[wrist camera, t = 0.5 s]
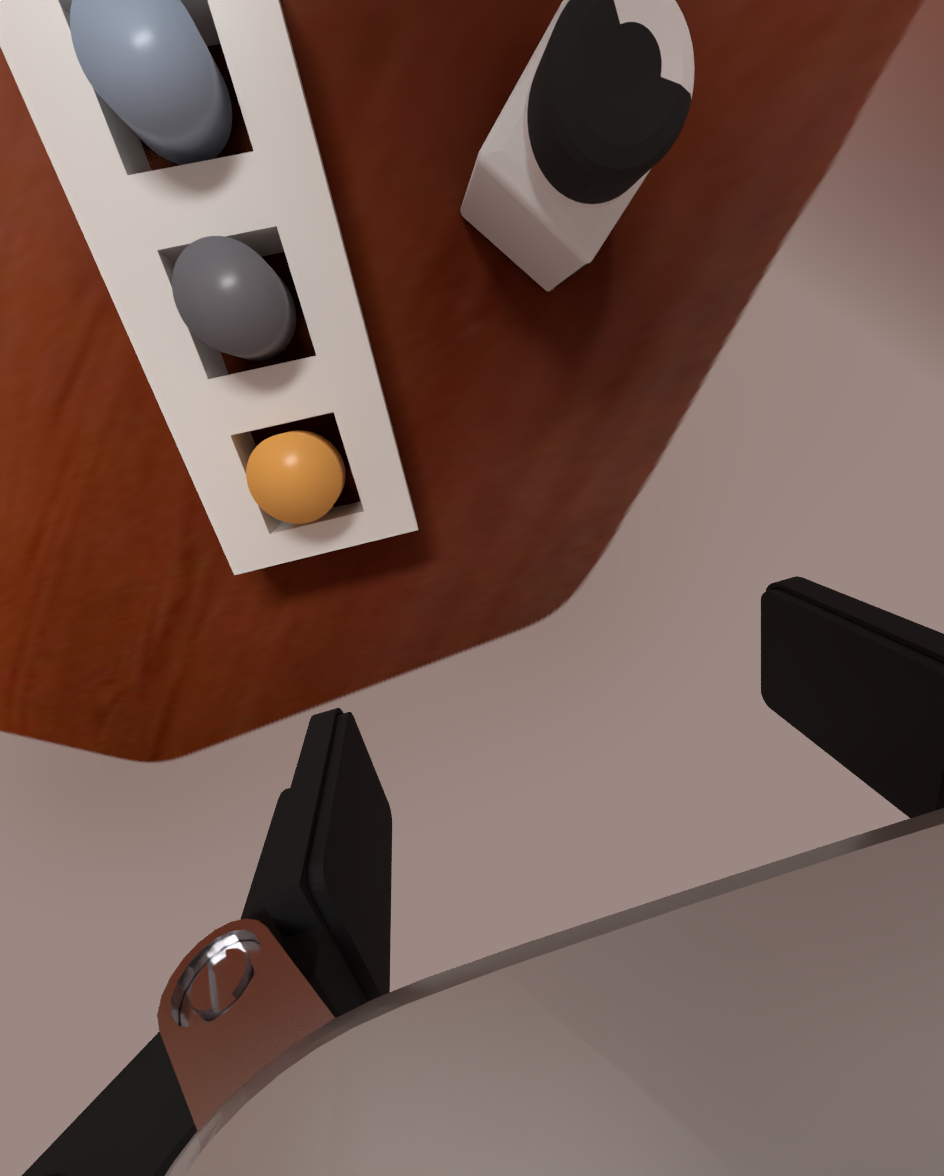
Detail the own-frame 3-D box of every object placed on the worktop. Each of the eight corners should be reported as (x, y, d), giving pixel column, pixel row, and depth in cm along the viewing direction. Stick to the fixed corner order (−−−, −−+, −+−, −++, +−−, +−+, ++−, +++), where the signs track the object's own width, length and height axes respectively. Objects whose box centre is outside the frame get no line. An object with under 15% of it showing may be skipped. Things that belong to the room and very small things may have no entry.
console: (27, 19, 22) (-45, -57, 19) (274, -23, 23) (251, -104, 20) (252, 556, 33) (234, 575, 30) (415, 516, 34) (418, 530, 30)
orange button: (250, 440, 28) (231, 445, 25) (331, 421, 29) (322, 424, 25) (280, 519, 30) (266, 532, 27) (355, 501, 31) (350, 512, 27)
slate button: (96, 39, 21) (43, -26, 18) (206, 20, 22) (173, -48, 18) (148, 174, 23) (108, 137, 20) (248, 155, 24) (224, 115, 20)
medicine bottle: (548, 295, 30) (636, 232, 19) (457, 214, 28) (496, 89, 17) (617, 185, 29) (757, 47, 17) (526, 90, 26) (621, -138, 15)
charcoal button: (184, 267, 25) (152, 247, 22) (277, 248, 25) (259, 225, 22) (222, 369, 27) (199, 364, 24) (308, 350, 27) (297, 343, 24)
